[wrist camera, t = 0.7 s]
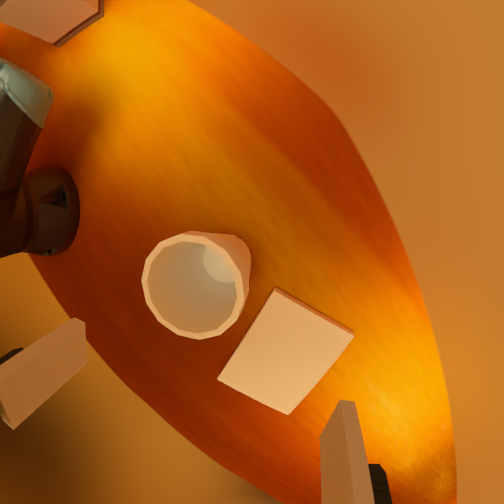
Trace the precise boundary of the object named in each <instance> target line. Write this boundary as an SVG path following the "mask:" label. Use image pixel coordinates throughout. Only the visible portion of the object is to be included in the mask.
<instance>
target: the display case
mask: <svg viewBox="0 0 504 504" xmlns="http://www.w3.org/2000/svg"><path fill="white" fill-rule="evenodd" d="M103 16H104V0H0V22H2V23H4V24H7V25H9V26H12V27H14V28H17V29H19V30H22V31H24V32H26V33H29V34H31V35H33V36H36V37H38V38H40V39H42V40H45V41H47V42H49V43H51V44H53V45H55V46H57V47H60V46H61V45H62V44H64V43H65V42H66V41H68V40H69V39H70V38H72V37H73V36H75V35H76V34H77V33H79V32H80V31H82V30H83V29H85V28H86V27H88V26H89V25H91V24H92V23H94V22H95V21H97V20H98V19H100V18H102V17H103Z"/></svg>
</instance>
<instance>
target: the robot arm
mask: <svg viewBox="0 0 504 504" xmlns="http://www.w3.org/2000/svg"><path fill="white" fill-rule="evenodd" d="M53 101H54V92H53V90H52V88H51V87H50V86H49V85H47V84H46V83H45V82H43V81H42V80H40V79H39V78H37V77H35V76H34V75H32V74H31V73H29V72H27V71H25V70H24V69H22V68H20V67H19V66H17V65H15V64H13V63H11V62H9V61H7V60H5V59H3V58H1V57H0V258H3V257H6V256H9V255H13V254H16V253H20V252H25V253H30V254H36V255H41V256H51V255H55V254H58V253H61V252H63V251H64V250H66V249H67V248H68V247H69V245H70V244H71V242H72V241H73V238H74V236H75V234H76V230H77V226H78V221H79V200H78V194H77V190H76V187H75V184H74V182H73V180H72V178H71V177H70V175H69V174H68V173H67V172H66V171H65V170H64V169H62V168H60V167H57V166H42V167H39V168H37V169H34V170H32V171H29V172H27V173H25V170H26V167H27V165H28V162H29V159H30V156H31V154H32V151H33V149H34V146H35V144H36V141H37V139H38V137H39V135H40V132H41V130H42V128H44V126H45V121H46V118H47V116H48V113H49V111H50V109H51V106H52V104H53ZM24 173H25V174H24ZM86 364H87V351H86V335H85V322H83V321H81V320H79V319H77V318H75V317H74V318H72V319H71V320H69V321H68V322H66V323H65V324H63V325H61V326H60V327H58V328H57V329H55V330H53V331H52V332H50V333H49V334H47V335H45V336H44V337H43V338H41V339H39V340H38V341H36V342H35V343H33V344H32V345H30V346H29V347H27V348H25V349H23V348H18V349H14V350H12V351H10V352H9V353H7V354H6V355H5V356H2V357H1V358H0V414H1V416H2V419H3V421H4V422H5V423H7V424H8V425H9V426H10V427H11V428H12V429H13V430H14V429H15V428H16V427H17V426H18V425H19V424H20V423H21V422H23V420H25V419H26V418H27V417H28V416H29V415H30V414H31V413H32V412H34V411H35V410H36V409H37V408H38V407H39V406H40V405H41V404H42V403H43V402H45V401H46V400H47V399H48V398H49V397H50V396H51V395H52V394H53V393H54V392H55V391H57V390H58V389H59V388H60V387H61V386H62V385H64V384H65V383H66V382H67V381H68V380H69V379H70V378H71V377H72V376H74V375H75V374H76V373H77V372H78V371H79V370H81V369H82V368H83V367H84V366H85V365H86ZM320 456H321V486H322V504H392V499H391V494H390V492H389V485H388V484H387V483H388V481H387V476H386V473H385V471H384V470H383V468H382V467H381V465H380V464H368V462H367V457H366V452H365V447H364V442H363V437H362V433H361V428H360V423H359V419H358V415H357V410H356V406H355V402H352V401H345V400H340V401H339V402H338V404H337V406H336V408H335V410H334V412H333V414H332V416H331V417H330V419H329V421H328V423H327V425H326V426H325V428H324V430H323V432H322V433H321V435H320Z"/></svg>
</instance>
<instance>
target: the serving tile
mask: <svg viewBox="0 0 504 504" xmlns="http://www.w3.org/2000/svg"><path fill="white" fill-rule="evenodd" d="M353 337H354V333H353V331H352V330H350V329H348V328H346V327H345V326H343V325H341V324H339V323H337V322H336V321H334V320H332V319H330V318H329V317H327V316H325V315H323V314H322V313H320V312H318V311H316V310H314V309H313V308H311V307H309V306H307V305H306V304H304V303H302V302H300V301H299V300H297V299H295V298H293V297H292V296H290V295H288V294H286V293H285V292H283V291H281V290H280V289H278V288H276V287H275V288H274V289H273V291H272V293H271V294H270V296H269V297H268V299H267V301H266V302H265V304H264V305H263V307H262V309H261V310H260V312H259V313H258V315H257V317H256V318H255V320H254V321H253V323H252V324H251V326H250V328H249V329H248V331H247V332H246V334H245V335H244V337H243V339H242V340H241V342H240V343H239V345H238V346H237V348H236V349H235V351H234V352H233V354H232V356H231V357H230V359H229V360H228V362H227V363H226V365H225V366H224V368H223V369H222V371H221V372H220V374H219V376H218V378H217V380H219V381H221V382H223V383H224V384H226V385H228V386H230V387H232V388H234V389H236V390H237V391H239V392H241V393H243V394H245V395H247V396H249V397H251V398H253V399H255V400H257V401H259V402H261V403H263V404H265V405H267V406H269V407H271V408H273V409H276V410H278V411H280V412H282V413H284V414H286V415H289V414H290V413H291V412H292V410H293V409H294V408H295V407H296V406H297V405H298V404H299V403H300V402H301V401H302V400H303V398H304V397H305V396H306V395H307V394H308V393H309V392H310V391H311V389H312V388H313V387H314V386H315V385H316V384H317V382H318V381H319V380H320V379H321V378H322V377H323V375H324V374H325V373H326V372H327V371H328V369H329V368H330V367H331V366H332V364H333V363H334V362H335V361H336V359H337V358H338V357H339V356H340V354H341V353H342V352H343V351H344V349H345V348H346V347H347V345H348V344H349V343H350V341H351V340H352V339H353Z"/></svg>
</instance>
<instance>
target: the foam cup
mask: <svg viewBox="0 0 504 504" xmlns="http://www.w3.org/2000/svg"><path fill="white" fill-rule="evenodd" d="M251 262H252V261H251V253H250V250H249V248H248V247H247V245H246V243H245V242H244V241H243V240H241V239H240V238H238V237H237V236H235V235H230V234H220V233H207V232H198V231H188V232H185V233H181V234H179V235H176V236H174V237H171V238H169V239H166V240H164V241H161V242H159V243H158V245H157V246H156V247H155V248H154V250H153V251H152V252H151V253H150V255H149V256H148V257H147V258H146V261H145V266H144V270H143V275H142V280H141V281H142V286H143V291H144V295H145V300H146V303H147V305H148V306H149V308H150V309H151V311H152V312H153V314H154V315H155V317H156V318H157V320H158V321H159V322H160V323H161V324H163V325H164V326H165V327H167V328H168V329H170V330H171V331H173V332H174V333H176V334H177V335H180V336H185V337H189V338H194V339H198V340H200V339H205V338H209V337H213V336H218V335H221V334H222V333H223V332H224V331H225V330H227V329H228V328H229V327H230V326H231V325H232V324H233V323H234V322H236V321H237V319H238V317H239V315H240V313H241V312H242V309H243V307H244V304H245V301H246V298H247V295H248V292H249V283H248V282H249V276H250V269H251Z"/></svg>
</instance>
